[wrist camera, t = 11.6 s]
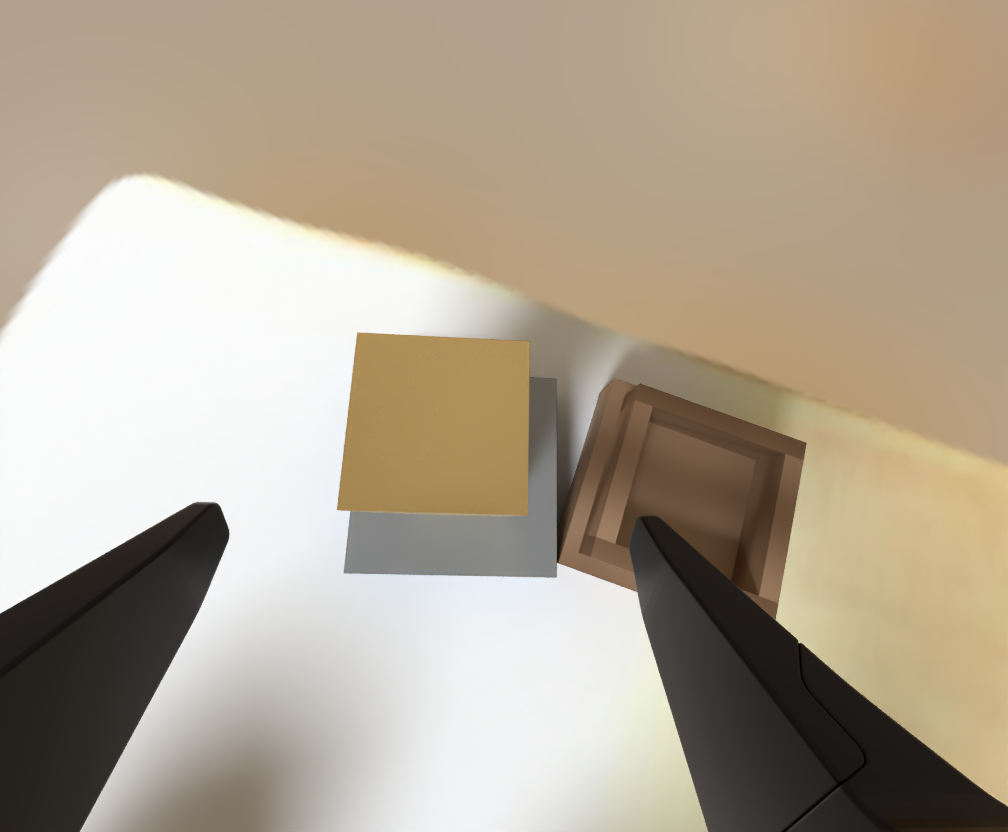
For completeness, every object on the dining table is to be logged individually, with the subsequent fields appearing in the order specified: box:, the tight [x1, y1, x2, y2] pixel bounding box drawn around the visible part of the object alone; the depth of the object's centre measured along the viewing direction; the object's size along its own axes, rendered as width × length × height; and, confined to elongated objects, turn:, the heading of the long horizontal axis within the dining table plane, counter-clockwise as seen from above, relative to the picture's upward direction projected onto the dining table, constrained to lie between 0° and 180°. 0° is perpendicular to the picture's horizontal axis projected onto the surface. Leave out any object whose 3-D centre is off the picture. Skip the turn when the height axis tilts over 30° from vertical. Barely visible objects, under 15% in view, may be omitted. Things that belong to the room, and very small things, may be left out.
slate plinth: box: [344, 377, 557, 577], centre depth 20 cm, size 9×9×2 cm
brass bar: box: [337, 333, 530, 517], centre depth 14 cm, size 4×4×10 cm
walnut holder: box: [557, 379, 806, 619], centre depth 20 cm, size 9×9×4 cm
